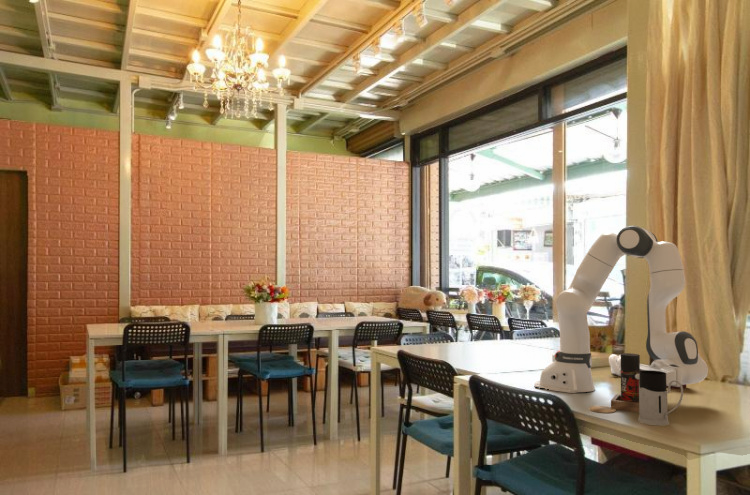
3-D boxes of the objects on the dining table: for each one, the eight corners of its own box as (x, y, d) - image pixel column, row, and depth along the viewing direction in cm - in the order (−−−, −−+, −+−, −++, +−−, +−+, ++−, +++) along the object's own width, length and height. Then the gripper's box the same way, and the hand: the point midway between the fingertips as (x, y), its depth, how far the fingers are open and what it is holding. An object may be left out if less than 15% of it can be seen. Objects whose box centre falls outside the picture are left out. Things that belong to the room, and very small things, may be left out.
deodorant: (618, 399, 199) (617, 354, 200) (625, 396, 204) (624, 352, 204) (635, 402, 195) (635, 356, 195) (643, 399, 199) (642, 354, 200)
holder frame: (610, 409, 197) (610, 400, 197) (616, 402, 207) (615, 394, 207) (648, 413, 191) (648, 404, 191) (652, 406, 201) (651, 397, 201)
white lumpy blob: (602, 372, 266) (602, 352, 266) (630, 372, 266) (629, 352, 266) (612, 377, 255) (611, 356, 255) (640, 377, 254) (640, 356, 255)
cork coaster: (587, 411, 195) (587, 409, 195) (591, 406, 202) (591, 404, 202) (613, 414, 191) (613, 412, 191) (617, 409, 198) (617, 407, 198)
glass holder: (650, 416, 188) (649, 369, 188) (692, 427, 175) (691, 376, 176) (631, 420, 183) (630, 371, 184) (673, 431, 171) (672, 379, 171)
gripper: (641, 358, 213) (608, 360, 209) (684, 368, 193) (648, 370, 190) (642, 376, 213) (608, 377, 209) (685, 387, 193) (649, 390, 189)
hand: (628, 374), depth 199 cm, fingers closed on deodorant, 6 cm apart
